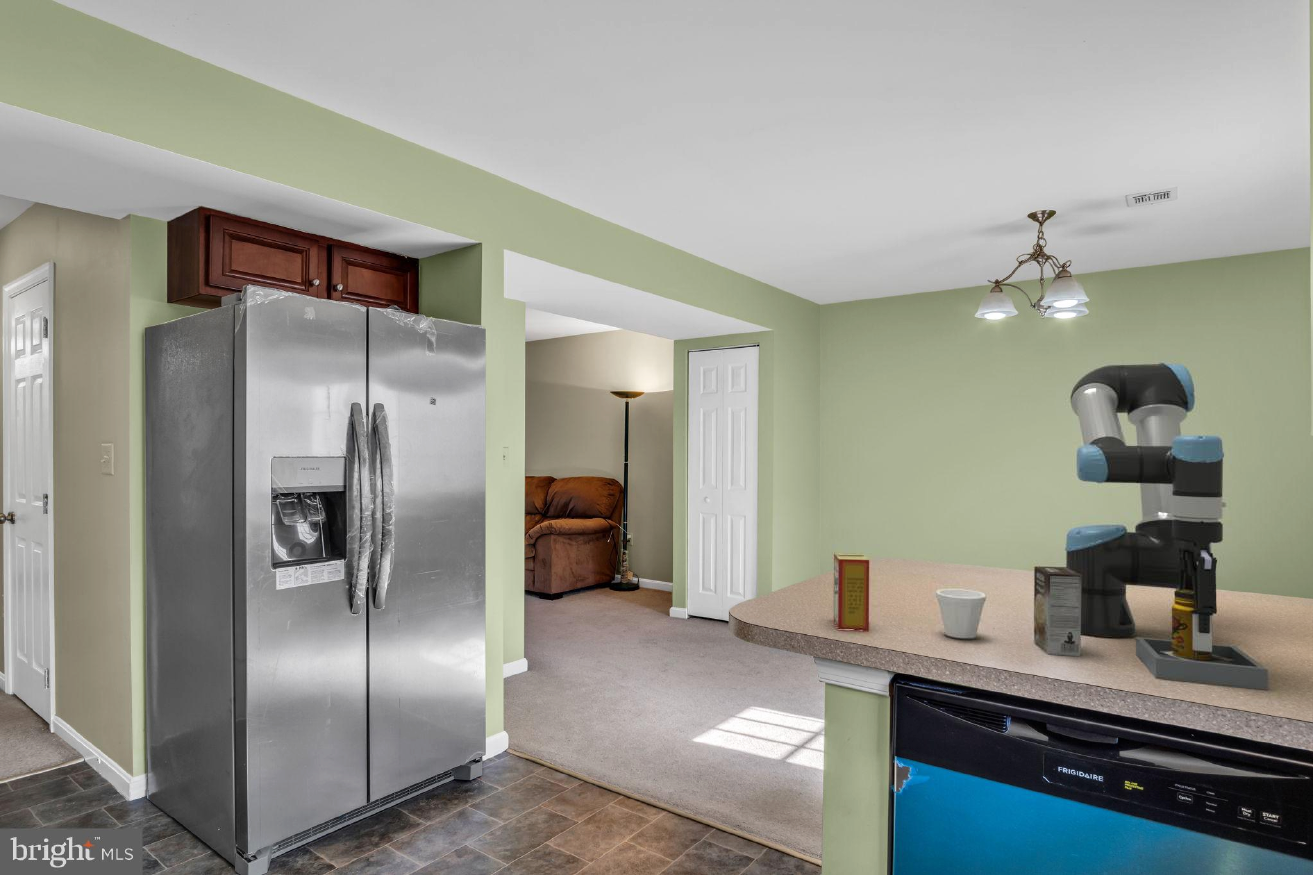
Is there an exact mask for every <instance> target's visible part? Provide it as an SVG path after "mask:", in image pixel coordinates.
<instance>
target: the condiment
mask: <svg viewBox="0 0 1313 875" xmlns="http://www.w3.org/2000/svg"><path fill="white" fill-rule="evenodd" d="M1173 601H1174V603H1173V604H1172V606H1171V640H1172V651H1170V652H1167V651H1166V652H1163V653H1166V654H1168V655H1171V656H1174V657H1177V658H1180V659H1183V660H1192V661H1202V662H1216V661H1229V660H1232V659H1227V658H1224V657H1219V656H1216V655H1213V654H1212V652H1208V651H1198V650H1193V614H1191V613H1190V610H1195V606H1194V594H1193V590H1182V589H1180V590H1176V589H1175V590H1174V599H1173ZM1161 652H1162V651H1161Z"/></svg>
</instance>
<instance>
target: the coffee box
mask: <svg viewBox="0 0 1313 875" xmlns="http://www.w3.org/2000/svg"><path fill="white" fill-rule="evenodd" d="M1033 568H1034V570H1033V571H1034V572H1033V574H1034V575H1033V576H1034V577H1033V578H1034V579H1033V582H1034V583H1033V584H1034V585H1033V586H1034V587H1033V592H1034V594H1033V642H1034V643H1035V645H1037V646H1038V647H1039V648H1040V649H1042V651H1044V652H1045V653H1046V654H1047V655H1055V656H1072V657H1073V656H1074V657H1075V656H1076V657H1081V656H1082V655H1081V654H1082V653H1081V650H1082V649H1081V648H1082V643H1081V642H1082V634H1081V576H1082V575H1080V574H1078V573H1076V572H1074V571H1072V570H1070V569H1068V568H1067V567H1066V566H1034V567H1033Z"/></svg>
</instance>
